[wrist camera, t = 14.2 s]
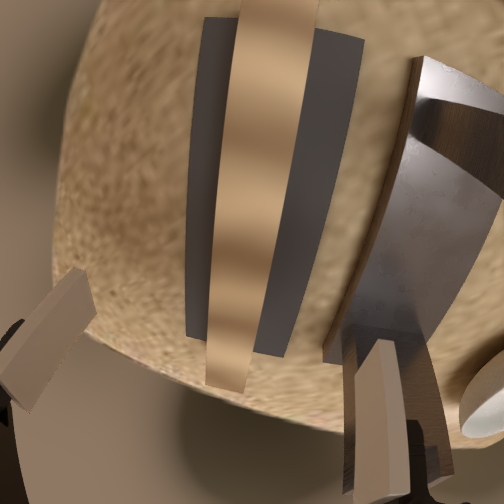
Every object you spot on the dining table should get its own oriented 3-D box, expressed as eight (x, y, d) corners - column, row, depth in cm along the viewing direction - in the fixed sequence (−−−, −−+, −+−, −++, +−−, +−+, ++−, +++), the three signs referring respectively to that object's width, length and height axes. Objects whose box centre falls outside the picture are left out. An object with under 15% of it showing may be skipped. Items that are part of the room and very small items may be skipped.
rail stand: (413, 57, 14) (604, 53, 1) (512, 106, 14) (672, 185, 1) (322, 346, 28) (315, 501, 15) (402, 357, 28) (421, 495, 15)
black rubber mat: (207, 18, 15) (204, 17, 15) (363, 40, 14) (364, 39, 14) (187, 332, 30) (186, 336, 30) (283, 353, 30) (283, 357, 29)
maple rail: (257, 6, 14) (244, -15, 10) (316, 14, 14) (319, -6, 10) (216, 349, 30) (205, 384, 26) (251, 357, 30) (243, 393, 26)
